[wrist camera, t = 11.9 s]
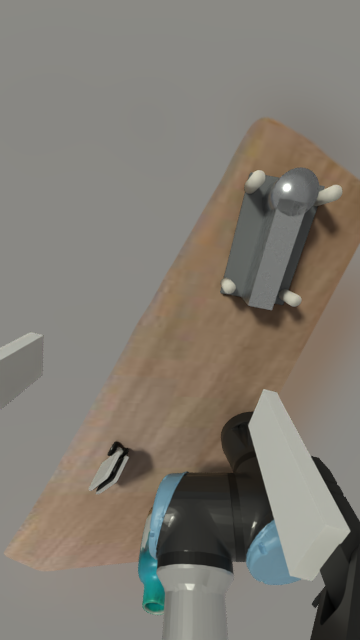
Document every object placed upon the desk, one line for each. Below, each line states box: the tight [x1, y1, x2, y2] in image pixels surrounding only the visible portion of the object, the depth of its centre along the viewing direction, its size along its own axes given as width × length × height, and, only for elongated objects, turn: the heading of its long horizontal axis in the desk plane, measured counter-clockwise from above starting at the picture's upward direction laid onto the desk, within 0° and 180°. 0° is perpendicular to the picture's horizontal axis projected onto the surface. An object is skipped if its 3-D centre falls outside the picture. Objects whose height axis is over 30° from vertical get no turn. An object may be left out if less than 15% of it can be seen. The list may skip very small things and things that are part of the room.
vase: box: [138, 507, 165, 615], centre depth 55 cm, size 11×11×19 cm
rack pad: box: [220, 170, 342, 307], centre depth 37 cm, size 20×13×6 cm, turn 170°
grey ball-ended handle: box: [241, 168, 319, 310], centre depth 36 cm, size 20×6×6 cm, turn 170°
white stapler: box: [89, 442, 129, 494], centre depth 54 cm, size 4×10×15 cm
